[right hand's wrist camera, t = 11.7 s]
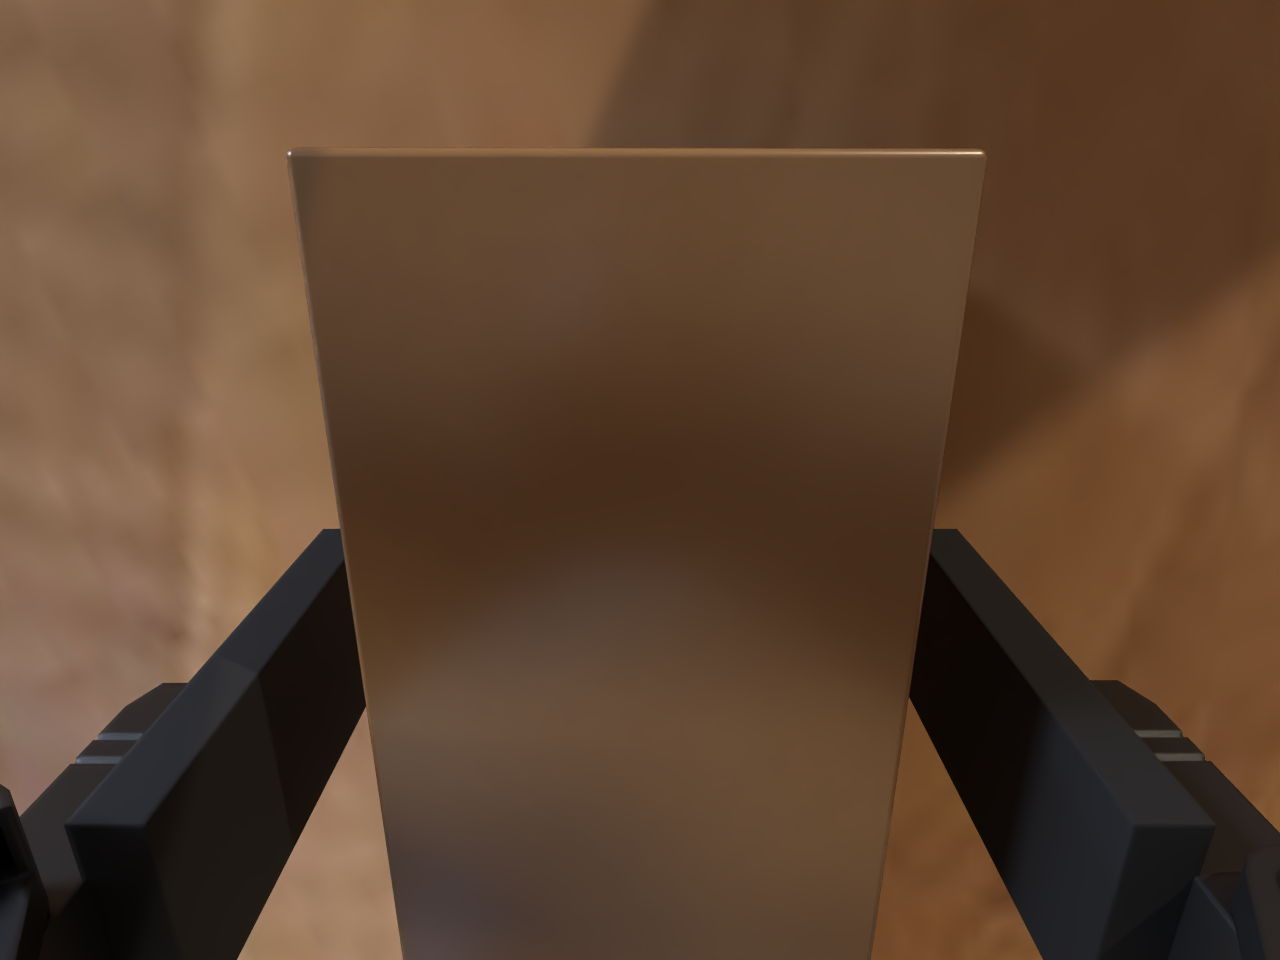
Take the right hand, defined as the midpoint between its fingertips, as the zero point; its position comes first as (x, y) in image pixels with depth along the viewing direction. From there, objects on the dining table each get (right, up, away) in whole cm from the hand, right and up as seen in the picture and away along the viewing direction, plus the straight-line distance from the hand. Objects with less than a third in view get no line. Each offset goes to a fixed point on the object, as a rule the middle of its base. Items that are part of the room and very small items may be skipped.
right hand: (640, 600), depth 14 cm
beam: (0, -19, +11) cm, 22 cm away
